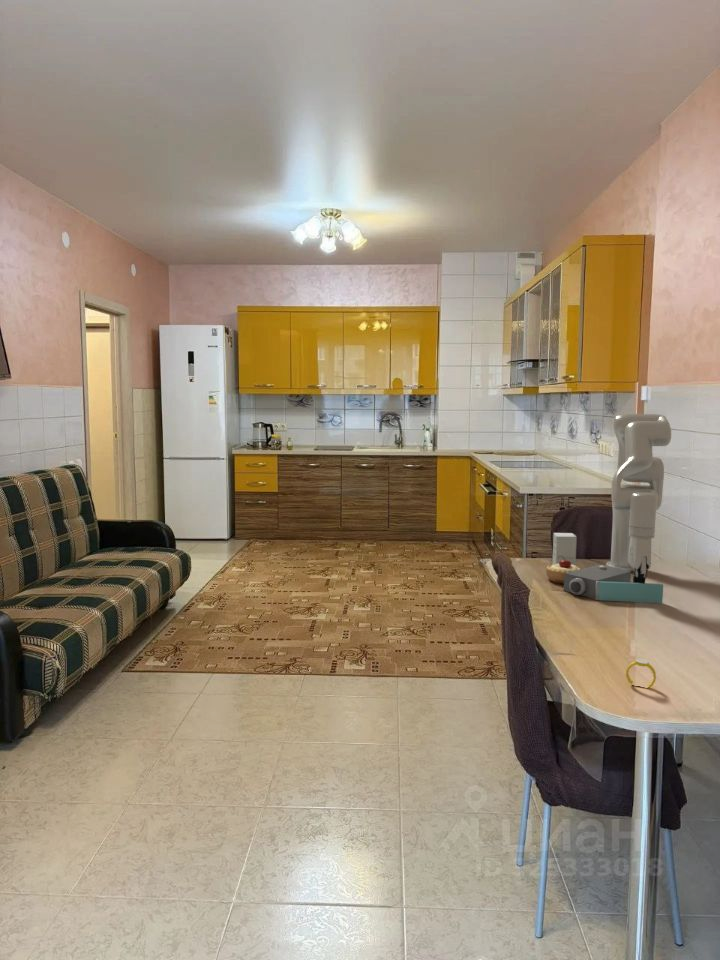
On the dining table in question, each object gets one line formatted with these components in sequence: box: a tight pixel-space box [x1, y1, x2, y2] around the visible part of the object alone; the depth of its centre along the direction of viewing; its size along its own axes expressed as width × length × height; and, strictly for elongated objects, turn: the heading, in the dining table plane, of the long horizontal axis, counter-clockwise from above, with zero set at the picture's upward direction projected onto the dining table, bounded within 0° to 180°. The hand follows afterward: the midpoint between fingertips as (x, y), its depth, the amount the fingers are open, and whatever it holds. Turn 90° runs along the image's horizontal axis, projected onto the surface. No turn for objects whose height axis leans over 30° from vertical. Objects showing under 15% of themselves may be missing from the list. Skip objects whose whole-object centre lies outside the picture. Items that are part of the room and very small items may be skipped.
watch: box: [625, 658, 657, 688], centre depth 152 cm, size 6×3×6 cm, turn 64°
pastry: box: [545, 556, 581, 585], centre depth 241 cm, size 12×12×9 cm
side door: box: [594, 581, 664, 604], centre depth 216 cm, size 20×1×6 cm, turn 82°
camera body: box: [563, 564, 632, 599], centre depth 229 cm, size 22×12×7 cm, turn 128°
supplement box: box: [552, 532, 578, 566], centre depth 261 cm, size 7×7×13 cm
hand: (638, 588), depth 218 cm, fingers closed
